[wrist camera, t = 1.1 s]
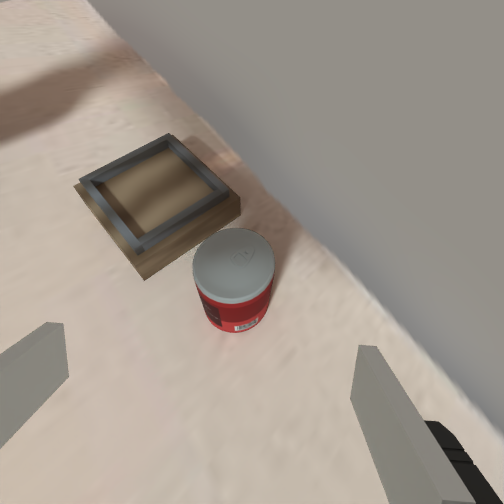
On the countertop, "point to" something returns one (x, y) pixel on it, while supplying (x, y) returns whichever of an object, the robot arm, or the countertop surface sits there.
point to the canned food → (234, 278)
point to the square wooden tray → (158, 203)
